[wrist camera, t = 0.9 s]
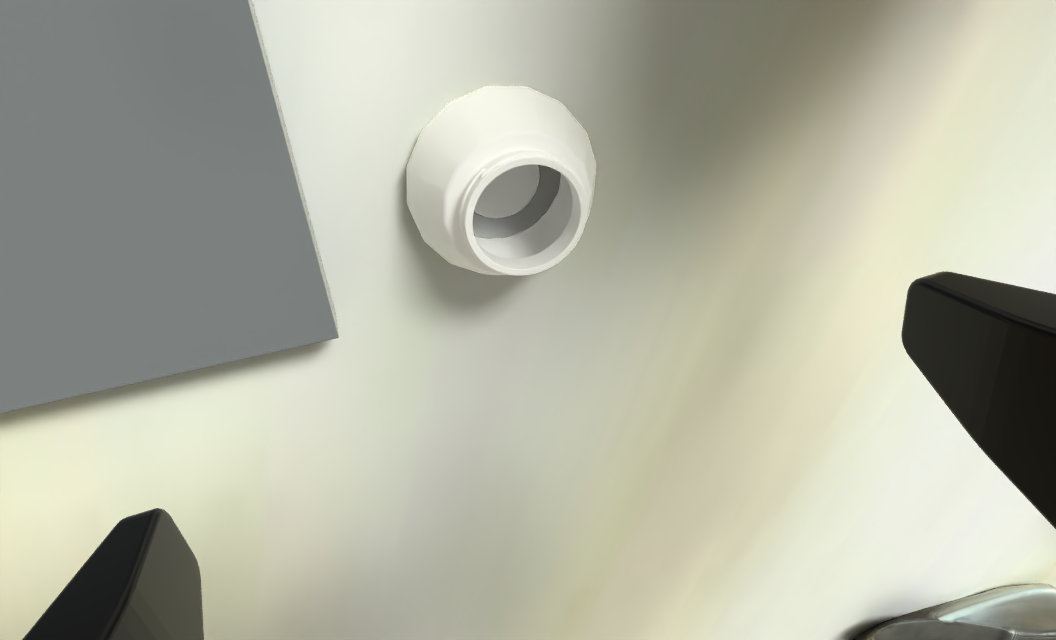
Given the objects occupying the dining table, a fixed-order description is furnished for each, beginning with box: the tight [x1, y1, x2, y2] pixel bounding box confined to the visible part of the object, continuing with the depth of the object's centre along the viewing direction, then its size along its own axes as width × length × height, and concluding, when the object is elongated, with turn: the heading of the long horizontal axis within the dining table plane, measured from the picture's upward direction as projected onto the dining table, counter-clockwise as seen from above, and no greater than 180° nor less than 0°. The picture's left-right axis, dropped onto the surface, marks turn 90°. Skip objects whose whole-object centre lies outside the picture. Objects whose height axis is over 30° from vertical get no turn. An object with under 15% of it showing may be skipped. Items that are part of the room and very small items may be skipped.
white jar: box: [406, 86, 597, 276], centre depth 19 cm, size 5×3×5 cm
